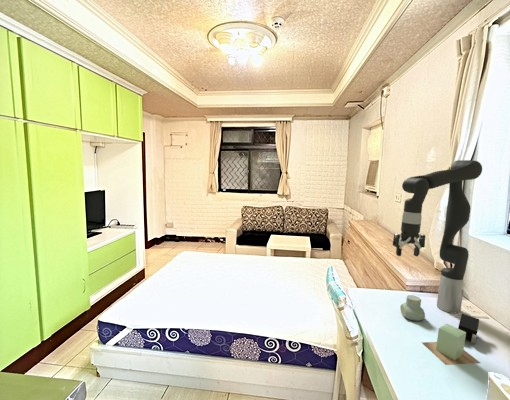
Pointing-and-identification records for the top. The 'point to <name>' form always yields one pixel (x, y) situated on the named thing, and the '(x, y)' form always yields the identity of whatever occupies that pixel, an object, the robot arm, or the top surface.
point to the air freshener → (412, 308)
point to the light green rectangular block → (450, 341)
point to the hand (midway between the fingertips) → (407, 255)
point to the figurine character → (469, 327)
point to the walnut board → (463, 359)
